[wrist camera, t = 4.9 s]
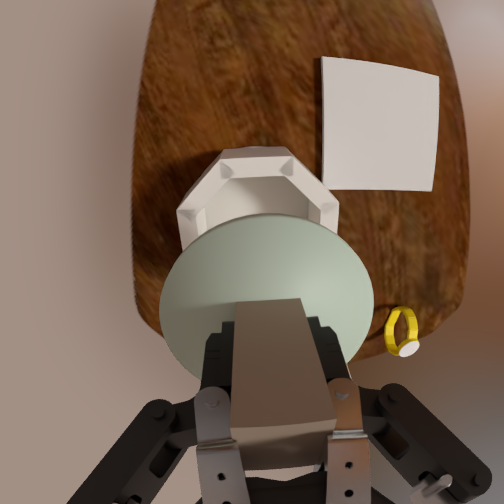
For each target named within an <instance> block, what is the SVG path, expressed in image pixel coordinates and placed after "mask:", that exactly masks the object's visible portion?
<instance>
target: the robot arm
mask: <svg viewBox="0 0 504 504" xmlns="http://www.w3.org/2000/svg"><path fill="white" fill-rule="evenodd" d="M307 320H308V323H309V327H310V330H311V333H312V336H313V339H314V343H315V346H316V349H317V352H318V356H319V359H320V362H321V366H322V369H323V372H324V376H325V379H326V382H327V386H328V389H329V393H330V396H331V399H332V403H333V406H334V410H335V413H336V417H337V421H336V424H335V428H334V432H333V434H326V436H325V440H324V443H323V446H322V449H321V452H320V455H319V458H318V461H317V464H316V465H314V470H313V472H312V473H309V474H306V475H304V476H300V477H297V478H295V479H292V480H288V481H277V480H271V479H265V478H259V477H246V475H245V471H244V467H243V463H242V459H241V455H240V451H239V446H238V442H237V441H234V442H233V441H232V436H231V431H230V412H231V389H232V367H233V346H234V327H235V321H223V322H222V331H221V333H211V334H210V336H209V337H208V339H207V340H206V344H205V352H204V361H203V369H202V378H201V386H200V390H199V392H198V393H197V394H196V396H195V397H193V398H192V399H190V400H188V401H185V402H181V403H177V404H173V405H172V404H171V403H170V402H169V401H166V400H163V399H157V400H152V401H150V402H148V403H147V404H146V405H145V406H144V407H143V409H142V410H141V411H140V412H139V414H138V415H137V416H136V417H135V419H134V420H133V421H132V423H131V424H130V425H129V426H128V428H127V429H126V430H125V431H124V433H123V434H122V435H121V436H120V438H119V439H118V440H117V441H116V443H115V444H114V445H113V446H112V448H111V449H110V450H109V452H108V453H107V454H106V455H105V456H104V458H103V459H102V460H101V461H100V463H99V464H98V465H97V466H96V468H95V469H94V470H93V471H92V473H91V474H90V475H89V476H88V478H87V479H86V480H85V481H84V482H83V484H82V485H81V486H80V487H79V489H78V490H77V491H76V492H75V494H74V495H73V496H72V497H71V498H70V500H69V501H68V502H67V504H150V503H151V502H152V500H153V499H154V498H155V496H156V495H157V493H158V492H159V490H160V489H161V488H162V486H163V485H164V483H165V482H166V480H167V479H168V477H169V476H170V474H171V473H172V471H173V470H174V469H175V467H176V465H177V464H178V463H179V461H180V460H181V458H182V457H183V455H184V453H185V452H186V451H187V449H188V447H190V446H194V445H198V446H197V447H196V455H197V464H198V471H199V479H200V487H201V494H202V497H201V498H200V499H199V500H198V501H197V502H196V504H395V503H393V502H392V501H391V500H389V499H388V498H386V497H385V496H384V495H382V494H381V493H379V492H378V491H377V490H375V489H374V488H373V487H371V483H370V482H371V479H370V459H369V442H368V439H369V440H370V441H371V442H372V443H373V444H374V446H375V447H376V448H377V449H378V450H379V451H380V452H381V454H382V455H383V456H384V457H385V458H386V459H387V460H388V461H389V462H390V463H391V464H392V466H393V467H394V468H395V469H396V470H397V471H398V472H399V473H400V474H401V475H402V477H403V478H404V479H405V480H406V481H407V482H408V483H409V484H410V485H411V486H412V487H413V488H412V489H411V492H410V500H411V502H412V504H466V503H467V502H468V501H471V500H473V499H475V498H476V497H478V496H480V495H482V494H484V493H485V492H486V491H487V490H488V489H489V487H490V485H491V482H492V473H491V471H490V469H489V468H488V467H487V466H486V465H485V464H484V463H483V462H482V461H481V460H480V459H479V458H478V457H477V456H476V455H475V454H474V453H472V452H471V450H470V449H469V448H467V447H466V446H465V445H464V444H463V443H462V442H461V441H460V440H459V439H458V438H457V437H456V436H455V435H454V434H453V433H452V432H451V431H450V430H449V429H448V428H447V427H446V426H445V425H444V424H443V423H442V422H441V421H439V420H438V419H437V418H436V417H435V416H434V415H433V414H432V413H431V412H430V411H429V410H428V409H427V408H426V407H425V406H424V405H423V404H422V403H421V402H420V401H419V400H418V399H416V398H415V397H414V396H413V395H412V394H411V393H410V392H409V391H408V390H407V389H406V388H405V387H404V386H402V385H400V384H396V383H391V384H387V385H385V386H383V387H382V388H381V390H374V389H366V388H362V387H360V386H358V385H357V384H356V383H355V382H354V381H352V379H351V378H350V375H349V372H348V369H347V365H346V362H345V359H344V356H343V353H342V351H341V346H340V344H339V340H338V337H337V334H336V333H335V332H334V330H333V329H332V328H331V327H330V326H325V327H321V325H320V321H319V318H318V316H311V317H307Z"/></svg>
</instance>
